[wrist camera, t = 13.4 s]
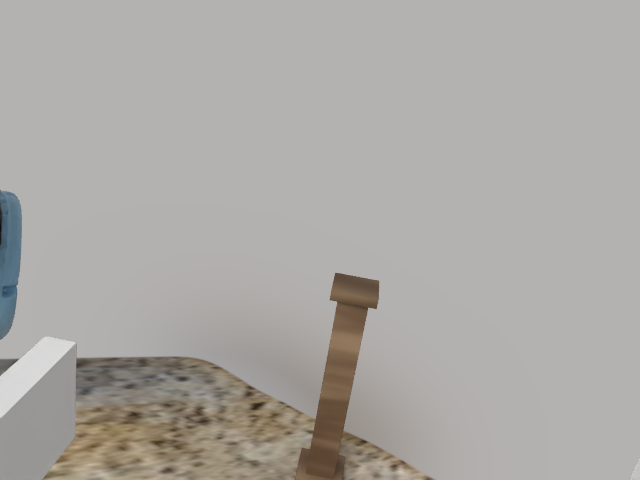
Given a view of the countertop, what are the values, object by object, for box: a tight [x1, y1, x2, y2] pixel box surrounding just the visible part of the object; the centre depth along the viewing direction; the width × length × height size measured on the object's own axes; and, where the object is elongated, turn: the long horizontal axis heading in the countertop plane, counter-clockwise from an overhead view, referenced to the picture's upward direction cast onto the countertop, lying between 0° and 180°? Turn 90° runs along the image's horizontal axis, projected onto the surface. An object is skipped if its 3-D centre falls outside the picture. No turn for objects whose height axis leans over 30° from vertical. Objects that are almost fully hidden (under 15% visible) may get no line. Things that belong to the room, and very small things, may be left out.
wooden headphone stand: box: [295, 273, 379, 480], centre depth 43 cm, size 16×10×19 cm, turn 174°
